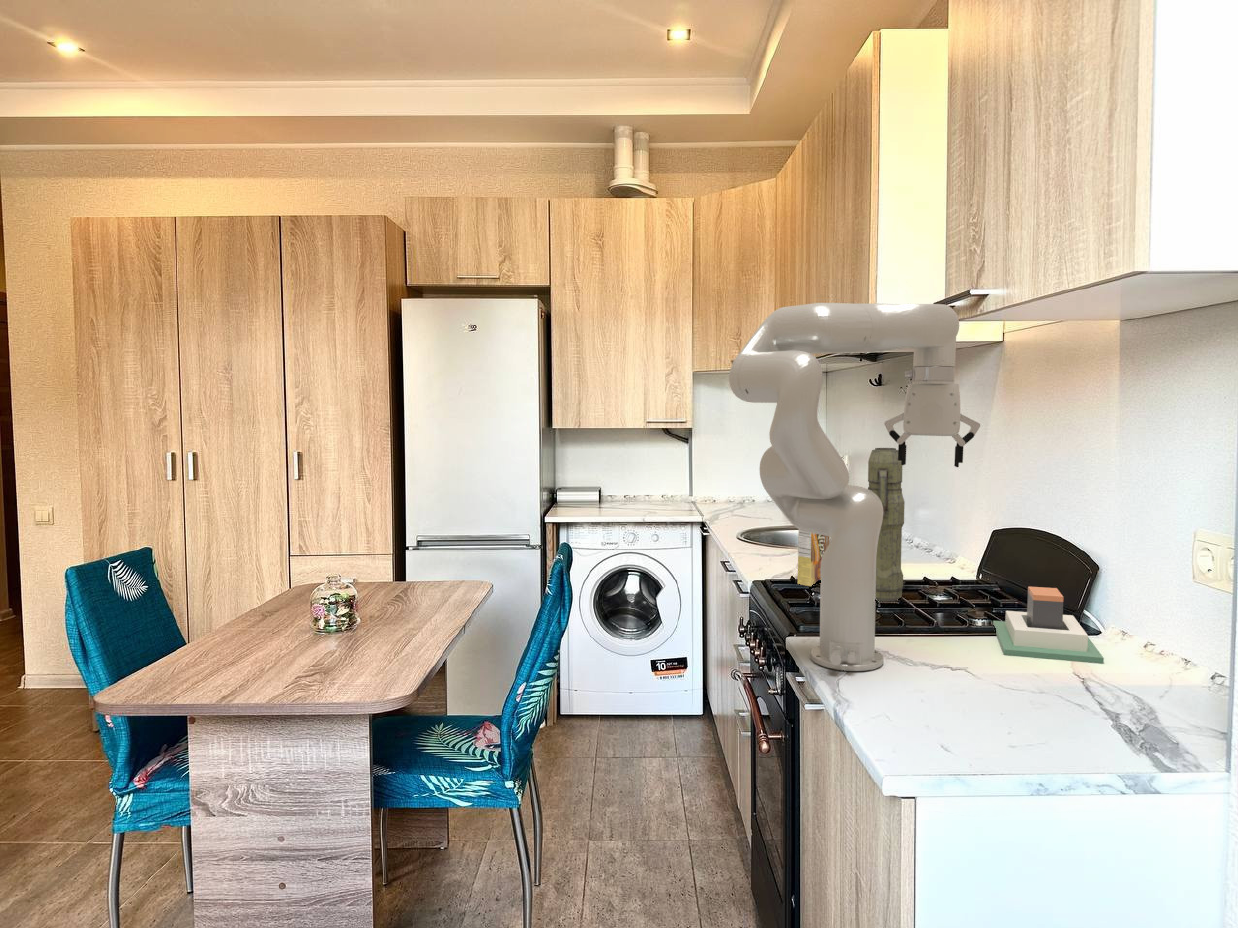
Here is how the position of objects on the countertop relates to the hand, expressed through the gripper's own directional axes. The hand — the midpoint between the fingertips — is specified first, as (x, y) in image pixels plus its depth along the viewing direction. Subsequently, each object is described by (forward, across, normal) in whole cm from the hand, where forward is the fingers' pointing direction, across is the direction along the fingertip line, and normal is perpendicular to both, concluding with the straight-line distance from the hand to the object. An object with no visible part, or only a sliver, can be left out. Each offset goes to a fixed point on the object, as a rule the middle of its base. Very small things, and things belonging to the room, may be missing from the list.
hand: (929, 465), depth 159 cm
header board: (+33, +22, +4) cm, 40 cm away
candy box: (+33, -27, +40) cm, 59 cm away
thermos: (+33, -9, +31) cm, 46 cm away
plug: (+32, +22, +4) cm, 39 cm away
